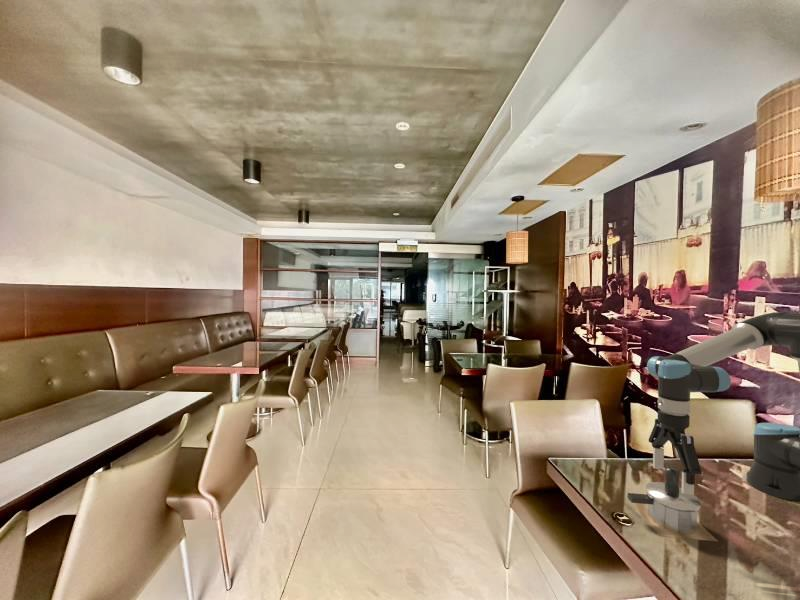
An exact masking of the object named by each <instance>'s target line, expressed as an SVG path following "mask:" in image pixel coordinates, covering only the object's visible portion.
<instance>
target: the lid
mask: <svg viewBox="0 0 800 600" xmlns="http://www.w3.org/2000/svg"><path fill="white" fill-rule="evenodd" d="M664 474H665V475H664V482H663V481H662V482H661V481H652V482H651V481H650V482H647V483H646V484H645V493H646V494H647V495H648V496H649V497H650V498H651V499H652V500H654V501H655V502H657V503H659V504H661V505H663V506H665V507H668V508H671V509H674V510H678V511H682V512H696V511H697V512H698V511H699V510H701V501H700V499H699V498H698V497H697V496H696V495H695V494H694V495H692V494H683V493H682V487H680V474H681V473H680V470H679V469H678V468H676V467H673V466H668V465H667V466H665V467H664Z"/></svg>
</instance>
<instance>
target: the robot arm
mask: <svg viewBox="0 0 800 600" xmlns="http://www.w3.org/2000/svg"><path fill="white" fill-rule="evenodd" d="M766 346H776V347H777V346H778V347H784V348H788V349H789V350H788V351H789V356H790V357H791V358H792V359H794V360H796V361H797V364H798V373H799V376H800V312H787V311H776V312H775V311H774V312H769V313H764V314H761V315H757V316H753V317H750V318H748V319H747V318H746V319H745V320H742V321H740V322H738V323H735V324H734V325H733V326H732V327H731V329H730V330H727V331H725V332H722V333H719V334H718V335H715V336H713V337H711V338H708V339H705V340H703V341H702V342H699V343H697V344H694V345H692V346H690V347H688V348H685V349H682V350H680V351H677V352H676V353H673V354H671V355H668V356H660V355H659V356H658V355H656V356H651V357H650V358H649V359H648V361H647V363H646V368H647V369H646V370H647V372H648V374H650V375H651V376H653V377H655V378H657V409H658V410H657V418H655V419H654V425H653V427H652V430H651V432H650V435H649V437H648V442H649V443H651V446H652V447H653V448H652V449H653V451H652V452H653V453H652V468H653V469H656V470H657V469H658V470H665V467H664V465H665V463H664V461H665V449H664V448H665V447H664V446H665V445H666V443H667V442H668V441H669V442H670V443H671V444H672V445H671V446H673V448H675V449H676V450H675V451H676V452H677V455H678V458H679V459H680V462H681V465H682V468H683V469H681V488H682V493H683V494H692V495H695V484H696V483H695V482H696V481H695V477H696V475H702V473H703V472H702V469H701V465H700V462H699V458H698V454H697V452H696V451H697V450H696V447H695V439H694V436H692V435H686V431H685V430H686V429H688V428H689V427H690V415H689V414H690V413H691V393H716V392H717V393H718V392H724V391H726V390H729V388H730V387H731V384H732V383H731V382H732V381H731V376H730V374H729V373H728V372H727V370H725V369H724V368H723V367H719V366H712V365H713V364H715V363H718V362H720V361H722V360H725V359H726V358H727V359H728V358H729V357H731V356H734V355H736V354H739V353H741V352H744V351H746V350H749V349H751V350H752V349H753V350H755V349H759V348H761V347H766ZM746 482H747V484H749V485H751V487H753V488H755V489H757V490H758V491H760V492H762V493H765V494H768V495H770V496H774V497H777V498H780V499H783V500H788V501H794V502H800V427H798V426H794V425H791V424H785V423H776V422H760V423H759V422H758V423H756V424H755V426H754V432H753V462H752V465H751V466H750V468H749V470H748V471H747V473H746Z"/></svg>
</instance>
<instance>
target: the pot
mask: <svg viewBox="0 0 800 600" xmlns="http://www.w3.org/2000/svg"><path fill="white" fill-rule="evenodd" d="M627 499H628V501H629V502H631V504H632V503H641V504H648V516H649V517H650V519H651V520H652V521H653V522H654V523H656V524H658V525H659V526H661V527H663V528H664V529H667V530H670V531H673V532H675V533H679V534H688V535H691V534H693V533H695V532H697V522H698V511H696V512H682V511H678V510H674V509H671V508H668V507H665V506H663V505H661V504H659V503H657V502H655V501H654V500H652V499H651V498H650V497H649V496H648V495H647V494H643V493H632V492H627Z"/></svg>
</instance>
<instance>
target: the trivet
mask: <svg viewBox="0 0 800 600" xmlns="http://www.w3.org/2000/svg"><path fill="white" fill-rule="evenodd" d="M631 504H632V505H633V506H634V507H635V509H636V510H637V511H638V512H639V514H640V515H641V516H642V517H643V518H644V519H645V521H646V522H647V523H648V524H649V525H650V527H651V528H652V529H653V530H654V531H655V532H656V534H658V536H659V537H667V538H668V537H669V538H680V539H689V540H699V541H700V540H701V541H709V542H718V539H717V538H716V537H714V536H713V535H712V534H711V533H710V532H709V531H708V530H707V529H706V528H705V527H703V526H702V525H701V524H700V523H699V522H698V521H697V532H695V533H693V534H691V535H688V534H679V533H675V532H673V531H670V530H667V529H664V528H663V527H661V526H659V525H658V524H656V523H654V522H653V521H652V520H651V519H650V517H649V516H648V504H641V503H632V502H631Z"/></svg>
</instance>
